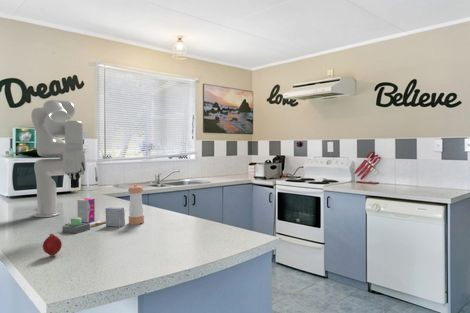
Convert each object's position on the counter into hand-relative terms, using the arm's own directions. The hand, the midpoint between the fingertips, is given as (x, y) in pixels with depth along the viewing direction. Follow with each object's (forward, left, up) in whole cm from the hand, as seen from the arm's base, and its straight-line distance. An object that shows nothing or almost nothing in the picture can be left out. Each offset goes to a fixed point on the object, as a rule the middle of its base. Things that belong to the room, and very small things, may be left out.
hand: (74, 187), depth 156 cm
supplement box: (-4, +10, -19) cm, 22 cm away
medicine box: (+12, +13, -20) cm, 26 cm away
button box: (+2, -1, -19) cm, 20 cm away
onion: (+24, -31, -20) cm, 44 cm away
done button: (+2, -1, -19) cm, 19 cm away
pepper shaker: (+18, +21, -20) cm, 33 cm away
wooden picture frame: (-4, +10, -19) cm, 22 cm away
